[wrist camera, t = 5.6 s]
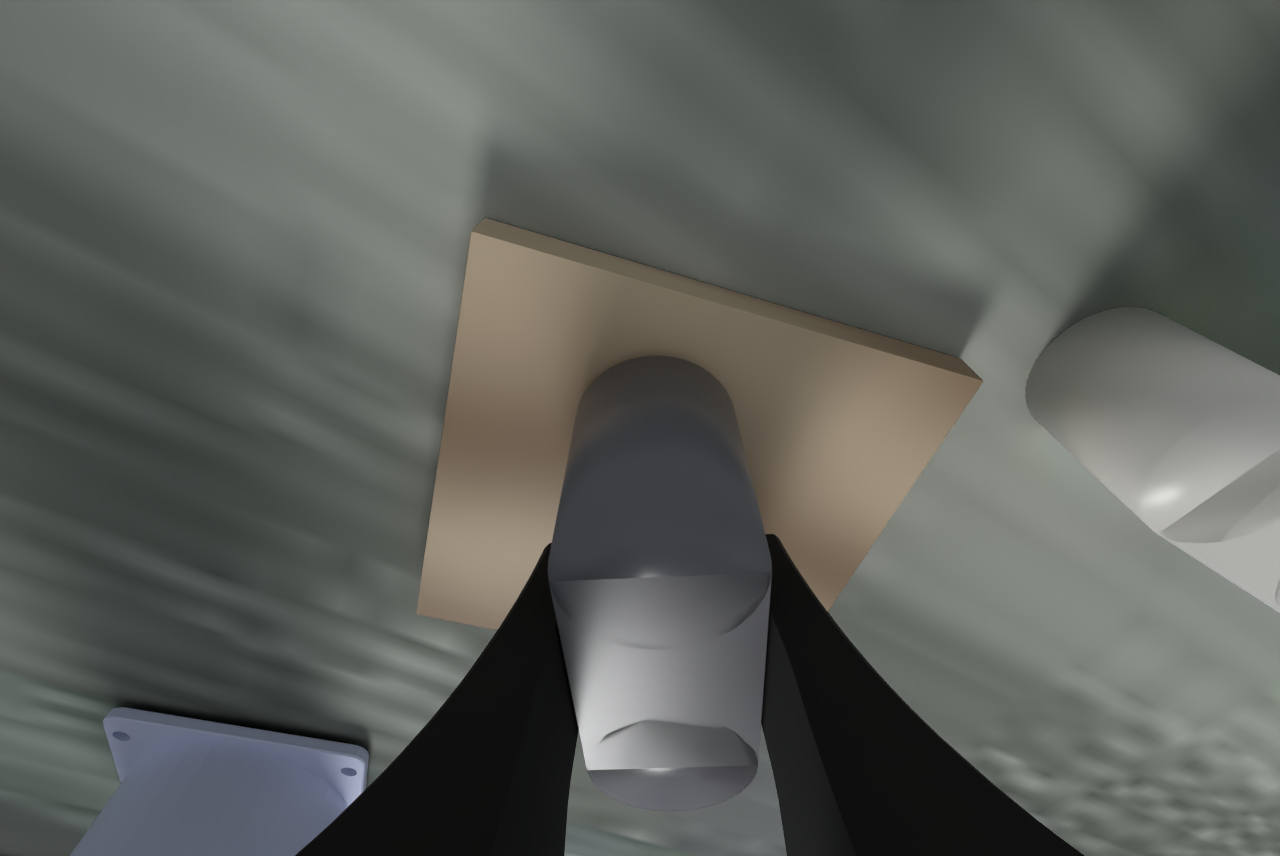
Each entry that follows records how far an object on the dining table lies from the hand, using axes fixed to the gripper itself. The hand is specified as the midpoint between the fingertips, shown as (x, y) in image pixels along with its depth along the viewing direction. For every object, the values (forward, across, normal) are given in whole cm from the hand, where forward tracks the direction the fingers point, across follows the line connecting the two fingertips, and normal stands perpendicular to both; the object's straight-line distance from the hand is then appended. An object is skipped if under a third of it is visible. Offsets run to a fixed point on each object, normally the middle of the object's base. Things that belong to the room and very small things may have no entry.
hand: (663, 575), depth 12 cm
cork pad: (+3, 0, 0) cm, 3 cm away
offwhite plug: (+3, -11, -1) cm, 12 cm away
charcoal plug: (+2, 0, +1) cm, 2 cm away
